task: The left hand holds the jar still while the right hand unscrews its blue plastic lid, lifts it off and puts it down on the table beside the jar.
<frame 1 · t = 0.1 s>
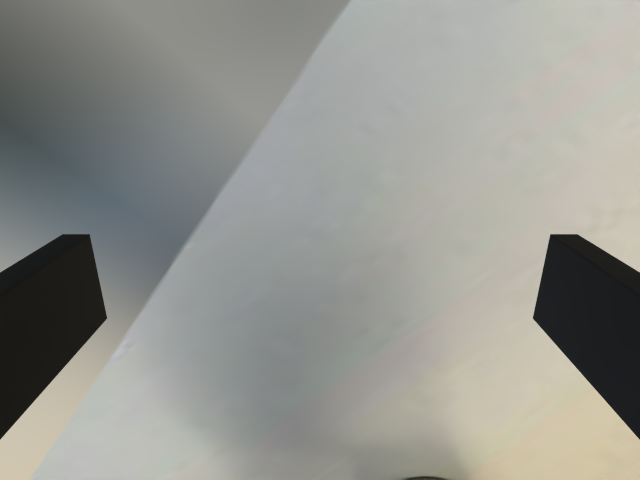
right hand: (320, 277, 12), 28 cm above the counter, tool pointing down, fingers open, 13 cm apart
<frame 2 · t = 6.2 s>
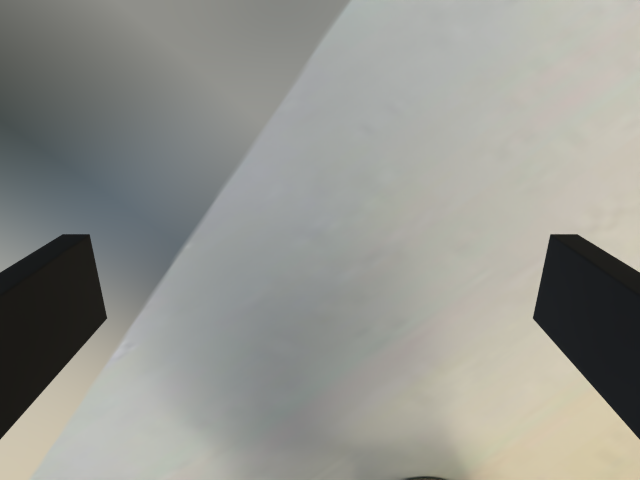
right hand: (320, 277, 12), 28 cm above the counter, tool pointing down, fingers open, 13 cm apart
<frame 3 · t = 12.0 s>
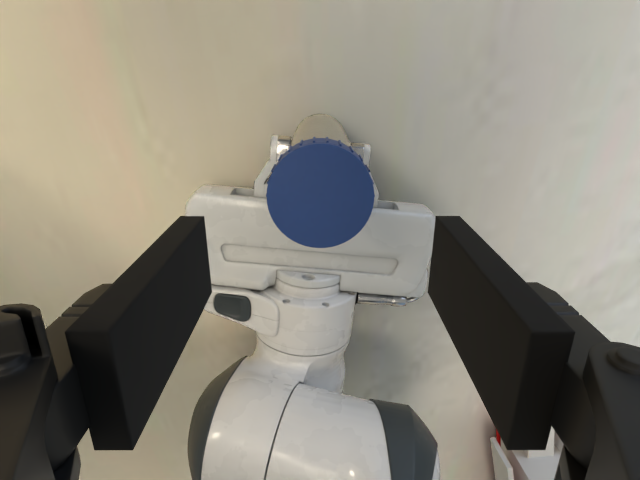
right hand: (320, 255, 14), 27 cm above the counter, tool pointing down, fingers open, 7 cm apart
left hand: (320, 140, 33), fingers closed on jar, 5 cm apart
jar: (320, 140, 39), on the counter, touching left hand
lid: (320, 196, 21), point 19 cm above the counter, screwed on, not yet turned
toy: (524, 460, 53), on the counter
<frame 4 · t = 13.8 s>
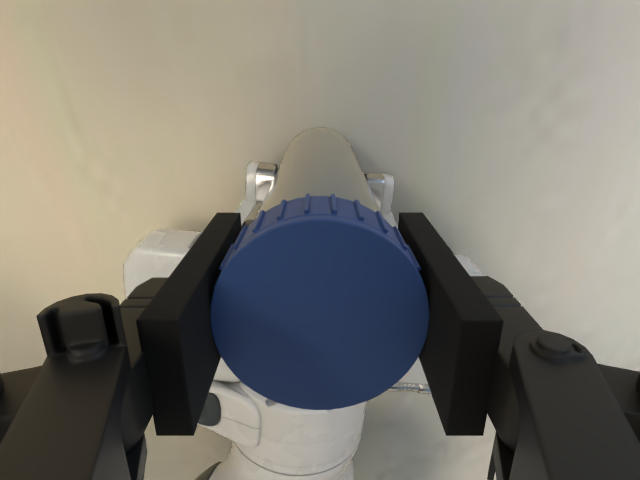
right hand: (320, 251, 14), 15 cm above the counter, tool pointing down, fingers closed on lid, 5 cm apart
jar: (319, 164, 28), on the counter, touching left hand
lid: (319, 316, 10), point 19 cm above the counter, screwed on, not yet turned, touching right hand
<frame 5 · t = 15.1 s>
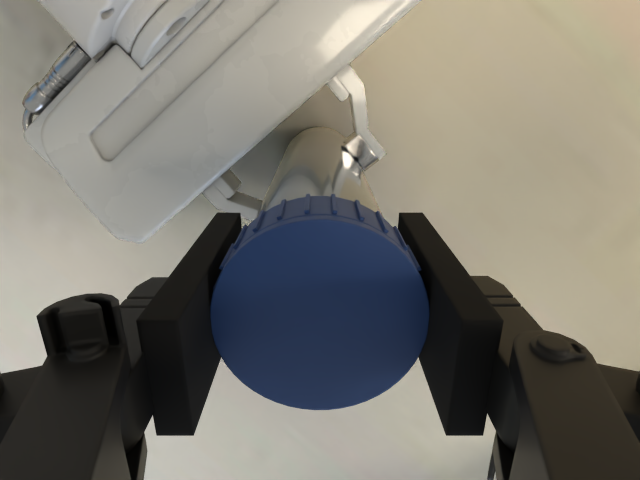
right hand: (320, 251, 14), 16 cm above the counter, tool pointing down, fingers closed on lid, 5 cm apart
left hand: (330, 196, 23), fingers closed on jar, 5 cm apart
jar: (319, 162, 29), on the counter, touching left hand
lid: (319, 316, 10), point 20 cm above the counter, off its thread, touching right hand
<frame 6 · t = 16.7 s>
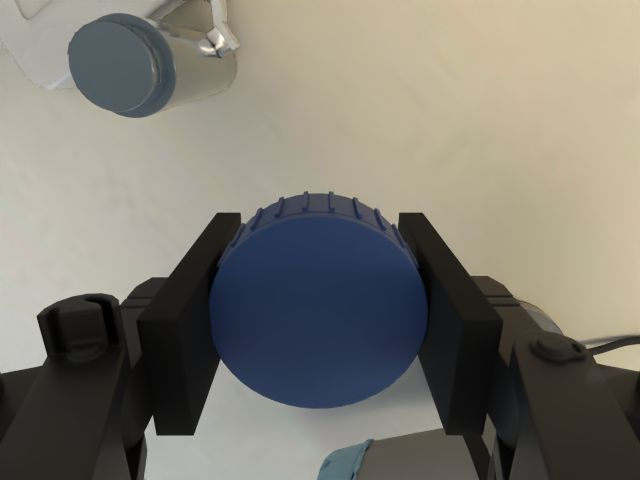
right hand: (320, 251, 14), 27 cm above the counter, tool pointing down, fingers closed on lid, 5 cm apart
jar: (209, 64, 37), on the counter, touching left hand
lid: (317, 314, 10), point 31 cm above the counter, off its thread, touching right hand
when the right hand's fingers open (0 cm above the counter, at t = 20.8 s): lid drops 3 cm, point 2 cm above the counter.
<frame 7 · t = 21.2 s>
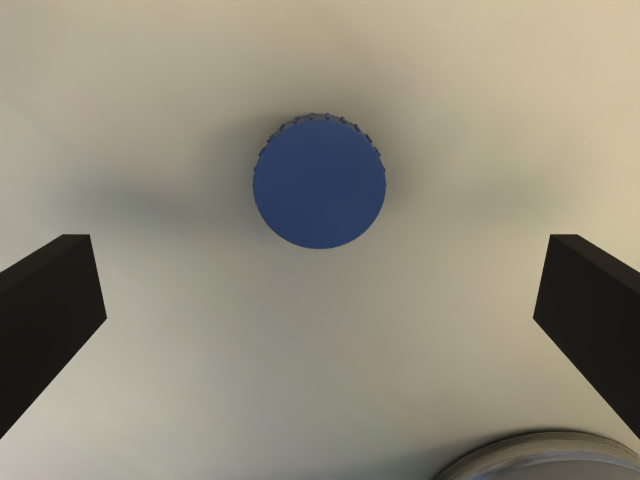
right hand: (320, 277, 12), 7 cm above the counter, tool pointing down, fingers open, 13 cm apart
lid: (319, 186, 17), point 2 cm above the counter, off its thread
when the left hand's fingers open (6 cm above the counter, at t = 21.4 s): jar stays where it is, on the counter.
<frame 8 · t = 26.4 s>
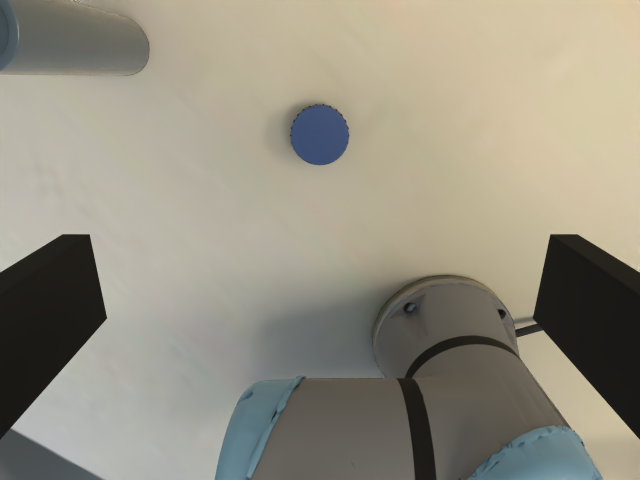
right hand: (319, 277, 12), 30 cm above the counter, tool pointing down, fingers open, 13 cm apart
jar: (122, 46, 37), on the counter
lid: (319, 135, 38), point 2 cm above the counter, off its thread
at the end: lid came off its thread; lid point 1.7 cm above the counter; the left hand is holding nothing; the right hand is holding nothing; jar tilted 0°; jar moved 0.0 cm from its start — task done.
